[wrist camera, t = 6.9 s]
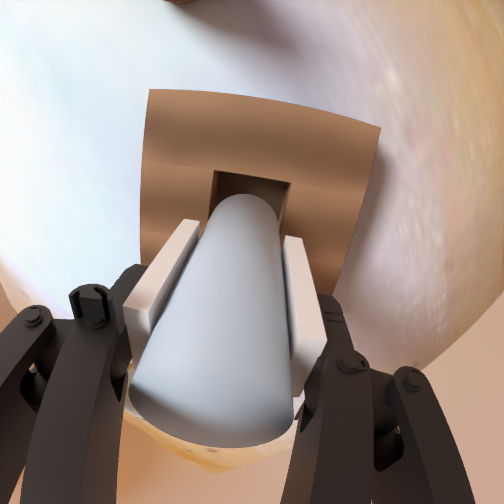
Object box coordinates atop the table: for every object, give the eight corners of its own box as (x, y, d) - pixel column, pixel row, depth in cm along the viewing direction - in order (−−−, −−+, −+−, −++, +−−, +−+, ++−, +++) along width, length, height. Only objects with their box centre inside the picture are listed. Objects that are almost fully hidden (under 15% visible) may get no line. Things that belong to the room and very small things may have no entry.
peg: (214, 188, 15) (114, 345, 5) (284, 200, 16) (317, 380, 5) (207, 251, 17) (140, 430, 7) (271, 262, 17) (272, 453, 7)
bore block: (169, 93, 18) (149, 89, 15) (361, 125, 19) (381, 127, 15) (157, 262, 25) (141, 286, 22) (316, 288, 26) (323, 316, 22)
